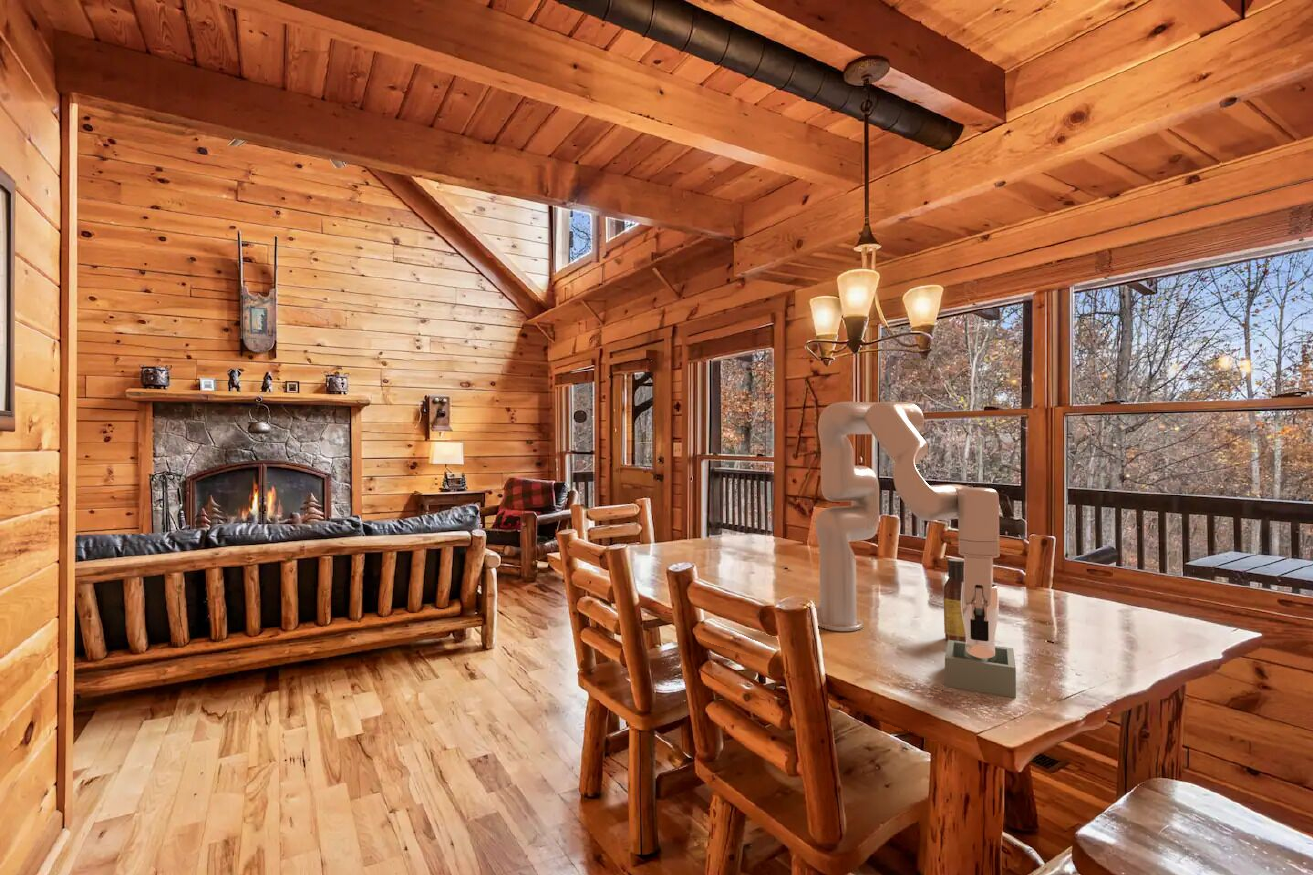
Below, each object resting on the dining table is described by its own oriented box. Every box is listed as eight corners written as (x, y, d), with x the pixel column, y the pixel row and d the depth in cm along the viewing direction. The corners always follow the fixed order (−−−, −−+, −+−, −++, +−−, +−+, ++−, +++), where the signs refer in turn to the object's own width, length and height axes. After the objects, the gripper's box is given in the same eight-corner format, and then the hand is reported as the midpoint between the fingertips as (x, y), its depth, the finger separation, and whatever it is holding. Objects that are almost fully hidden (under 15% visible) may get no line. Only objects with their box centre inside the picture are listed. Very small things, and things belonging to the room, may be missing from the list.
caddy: (945, 686, 126) (944, 657, 126) (948, 666, 137) (948, 639, 137) (1015, 697, 120) (1015, 667, 120) (1013, 675, 131) (1013, 648, 131)
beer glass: (954, 651, 131) (953, 580, 132) (986, 650, 132) (985, 579, 132) (974, 663, 125) (973, 588, 125) (1007, 662, 125) (1006, 587, 125)
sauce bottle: (975, 645, 150) (975, 563, 150) (947, 644, 151) (947, 562, 151) (967, 637, 156) (967, 557, 156) (941, 635, 158) (940, 557, 158)
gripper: (960, 540, 138) (960, 621, 138) (956, 553, 122) (957, 644, 122) (998, 542, 134) (999, 626, 134) (1000, 556, 119) (1001, 650, 119)
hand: (979, 634), depth 128 cm, fingers closed on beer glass, 6 cm apart
